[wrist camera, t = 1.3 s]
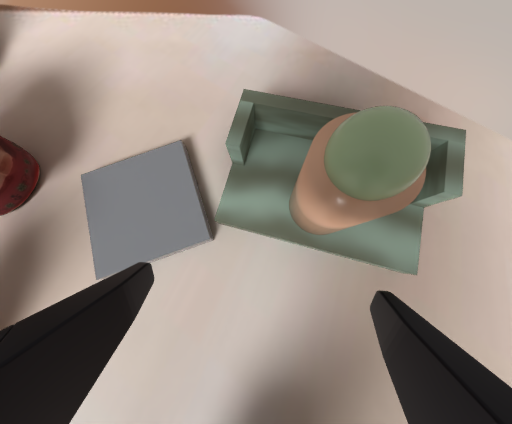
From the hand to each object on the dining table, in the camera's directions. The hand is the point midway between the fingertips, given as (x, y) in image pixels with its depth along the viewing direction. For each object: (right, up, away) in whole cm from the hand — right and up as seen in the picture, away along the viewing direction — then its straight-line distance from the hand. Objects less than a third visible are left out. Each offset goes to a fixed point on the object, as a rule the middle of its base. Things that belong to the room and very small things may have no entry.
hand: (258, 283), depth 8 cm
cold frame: (+7, +5, +15) cm, 18 cm away
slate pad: (-13, +3, +16) cm, 21 cm away
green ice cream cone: (+7, +4, +13) cm, 15 cm away
